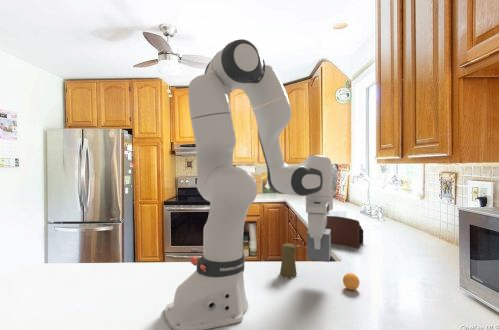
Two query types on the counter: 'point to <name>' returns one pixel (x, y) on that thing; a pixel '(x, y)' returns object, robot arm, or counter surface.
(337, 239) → the letter holder
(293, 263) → the cork
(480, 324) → the counter surface
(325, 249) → the block
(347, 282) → the ball
